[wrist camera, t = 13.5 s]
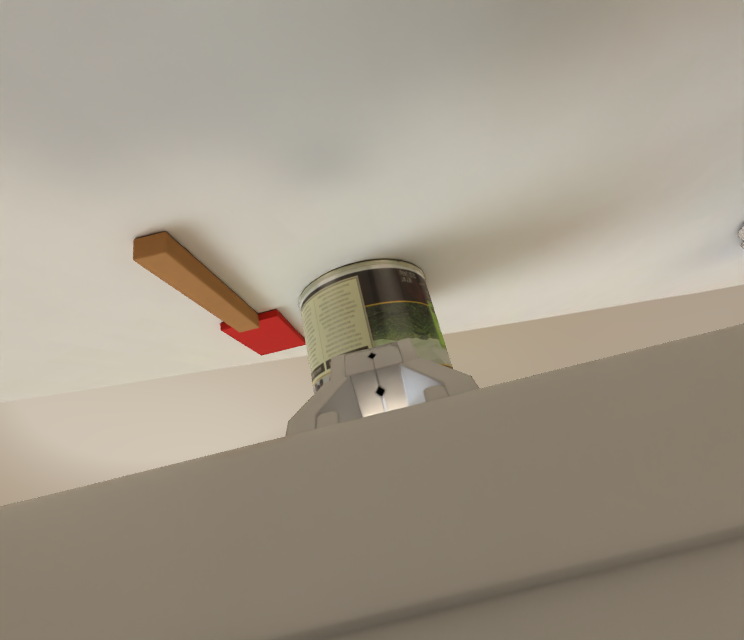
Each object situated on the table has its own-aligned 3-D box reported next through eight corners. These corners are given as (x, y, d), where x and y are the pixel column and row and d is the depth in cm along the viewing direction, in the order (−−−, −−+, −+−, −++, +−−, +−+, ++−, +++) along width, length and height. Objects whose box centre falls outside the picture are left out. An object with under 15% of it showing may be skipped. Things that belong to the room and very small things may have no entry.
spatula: (195, 223, 16) (196, 244, 16) (304, 338, 34) (306, 350, 34) (102, 246, 16) (101, 268, 16) (260, 349, 34) (262, 361, 34)
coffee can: (429, 242, 23) (506, 470, 18) (421, 303, 32) (470, 462, 27) (277, 280, 23) (311, 518, 18) (314, 330, 32) (343, 493, 27)
